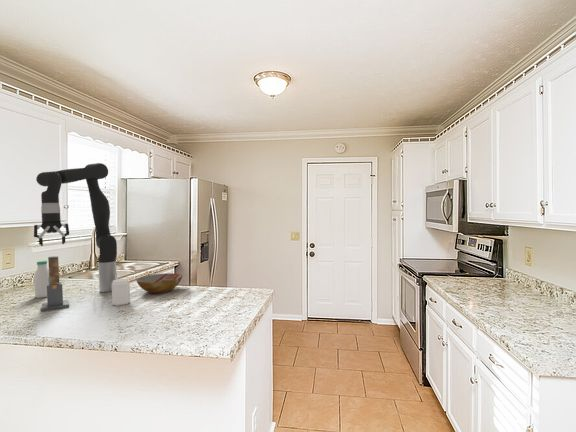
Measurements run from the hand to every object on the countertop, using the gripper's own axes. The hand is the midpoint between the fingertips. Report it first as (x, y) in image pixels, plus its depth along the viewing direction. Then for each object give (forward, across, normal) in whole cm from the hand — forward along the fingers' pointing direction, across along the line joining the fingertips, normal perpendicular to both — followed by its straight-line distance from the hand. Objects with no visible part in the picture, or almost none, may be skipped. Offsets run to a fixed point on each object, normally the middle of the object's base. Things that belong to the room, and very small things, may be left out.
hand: (52, 245), depth 164 cm
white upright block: (+31, -27, +16) cm, 45 cm away
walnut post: (+23, 0, 0) cm, 23 cm away
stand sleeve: (+31, 0, 0) cm, 31 cm away
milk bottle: (+31, +6, -31) cm, 45 cm away
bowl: (+32, -50, +2) cm, 59 cm away
